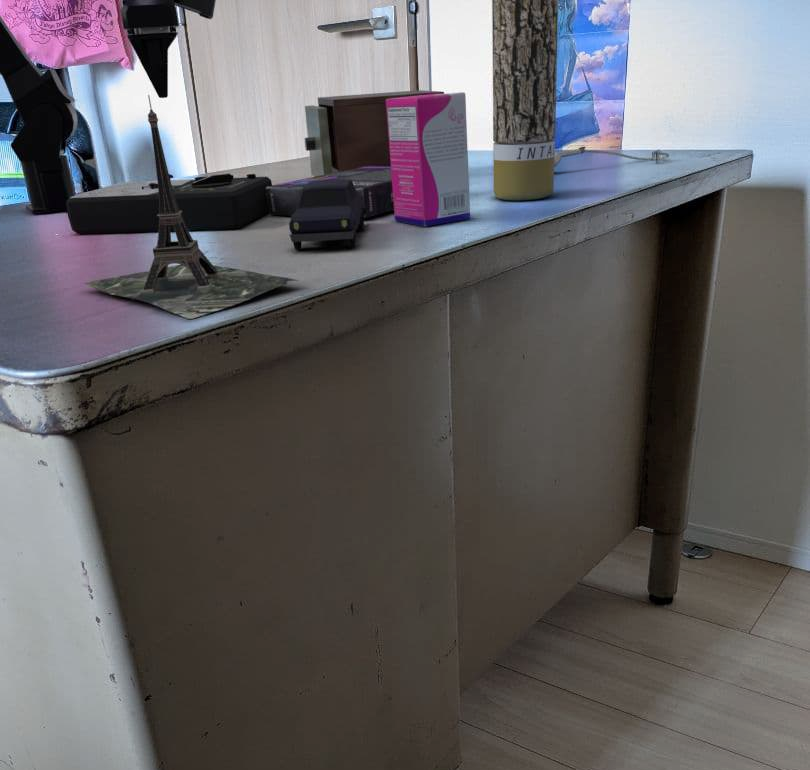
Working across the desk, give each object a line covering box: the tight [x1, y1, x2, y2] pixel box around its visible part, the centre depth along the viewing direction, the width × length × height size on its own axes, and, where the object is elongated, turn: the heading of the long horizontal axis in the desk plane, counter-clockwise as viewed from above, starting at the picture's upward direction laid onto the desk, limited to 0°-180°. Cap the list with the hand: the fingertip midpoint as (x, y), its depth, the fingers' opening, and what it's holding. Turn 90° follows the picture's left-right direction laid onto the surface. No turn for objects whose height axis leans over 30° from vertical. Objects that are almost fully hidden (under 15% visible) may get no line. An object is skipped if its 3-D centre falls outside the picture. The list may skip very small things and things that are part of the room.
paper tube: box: [491, 0, 559, 202], centre depth 93 cm, size 7×7×25 cm
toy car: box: [288, 179, 366, 251], centre depth 81 cm, size 6×15×5 cm, turn 178°
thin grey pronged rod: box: [554, 146, 670, 168], centre depth 119 cm, size 5×3×20 cm
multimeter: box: [66, 173, 273, 235], centre depth 96 cm, size 13×19×5 cm
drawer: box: [304, 104, 338, 177], centre depth 118 cm, size 15×11×9 cm
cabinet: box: [317, 89, 445, 172], centre depth 118 cm, size 15×13×11 cm
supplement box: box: [386, 91, 471, 228], centre depth 86 cm, size 6×6×12 cm
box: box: [265, 166, 394, 219], centre depth 100 cm, size 14×4×20 cm
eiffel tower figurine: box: [84, 94, 299, 320], centre depth 63 cm, size 15×10×13 cm
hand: (163, 97), depth 110 cm, fingers closed
